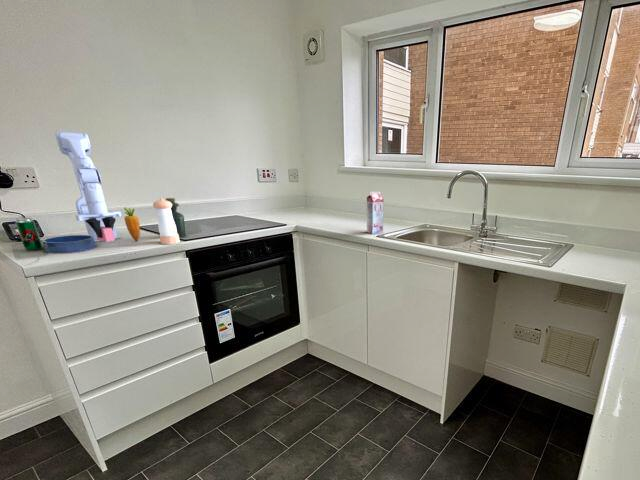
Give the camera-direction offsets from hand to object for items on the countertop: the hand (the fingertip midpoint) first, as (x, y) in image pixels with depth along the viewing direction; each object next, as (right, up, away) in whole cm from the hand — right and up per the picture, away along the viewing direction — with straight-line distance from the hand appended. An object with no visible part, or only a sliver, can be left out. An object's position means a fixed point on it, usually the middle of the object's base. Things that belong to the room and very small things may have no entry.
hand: (105, 236), depth 140 cm
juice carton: (+104, +13, +57) cm, 119 cm away
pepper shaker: (+15, 0, +17) cm, 23 cm away
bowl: (-15, -4, +2) cm, 16 cm away
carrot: (0, +1, +17) cm, 17 cm away
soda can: (-27, -6, -1) cm, 27 cm away
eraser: (0, -1, +1) cm, 1 cm away
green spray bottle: (+11, +5, +29) cm, 32 cm away
